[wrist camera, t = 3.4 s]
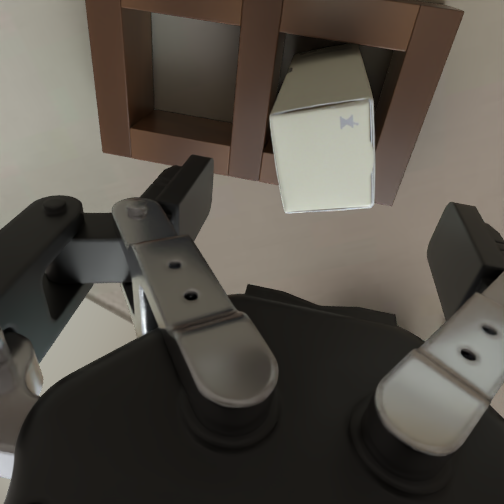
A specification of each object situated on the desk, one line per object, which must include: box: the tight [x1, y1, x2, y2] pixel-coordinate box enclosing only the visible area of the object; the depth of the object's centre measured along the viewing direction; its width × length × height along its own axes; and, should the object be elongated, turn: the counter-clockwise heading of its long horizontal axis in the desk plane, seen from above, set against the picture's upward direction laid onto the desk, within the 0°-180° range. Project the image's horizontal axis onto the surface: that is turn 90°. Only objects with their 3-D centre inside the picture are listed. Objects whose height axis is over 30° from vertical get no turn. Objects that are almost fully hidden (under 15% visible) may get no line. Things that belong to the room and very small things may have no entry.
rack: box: [85, 0, 464, 206], centre depth 26 cm, size 21×11×4 cm, turn 84°
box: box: [269, 43, 375, 213], centre depth 22 cm, size 5×4×13 cm
